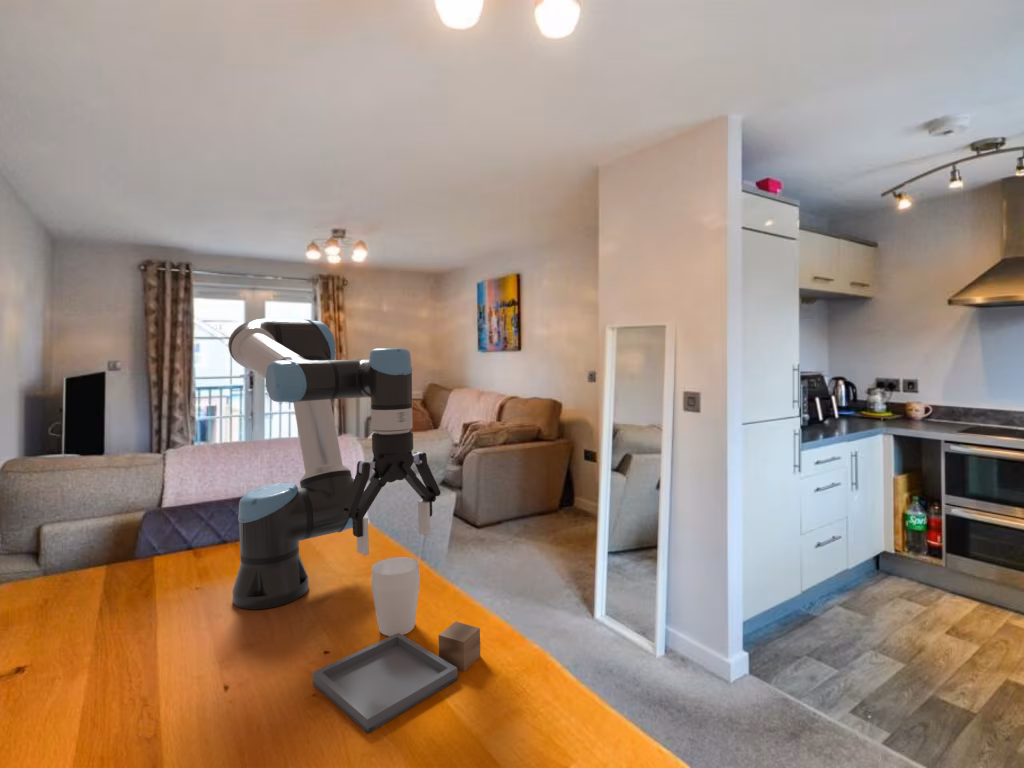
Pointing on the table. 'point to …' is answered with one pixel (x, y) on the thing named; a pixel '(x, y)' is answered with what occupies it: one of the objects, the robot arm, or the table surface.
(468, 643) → the walnut cube
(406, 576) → the cup
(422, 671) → the tray
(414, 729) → the table surface
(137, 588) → the table surface
